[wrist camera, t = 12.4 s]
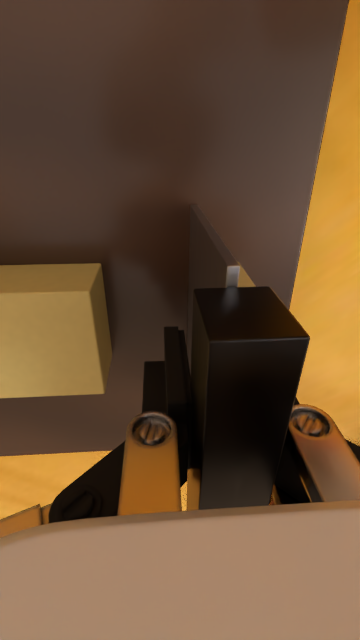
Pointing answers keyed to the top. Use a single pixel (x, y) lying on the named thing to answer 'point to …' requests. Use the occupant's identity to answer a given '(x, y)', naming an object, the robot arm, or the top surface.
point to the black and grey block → (236, 377)
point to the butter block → (53, 330)
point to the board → (153, 166)
